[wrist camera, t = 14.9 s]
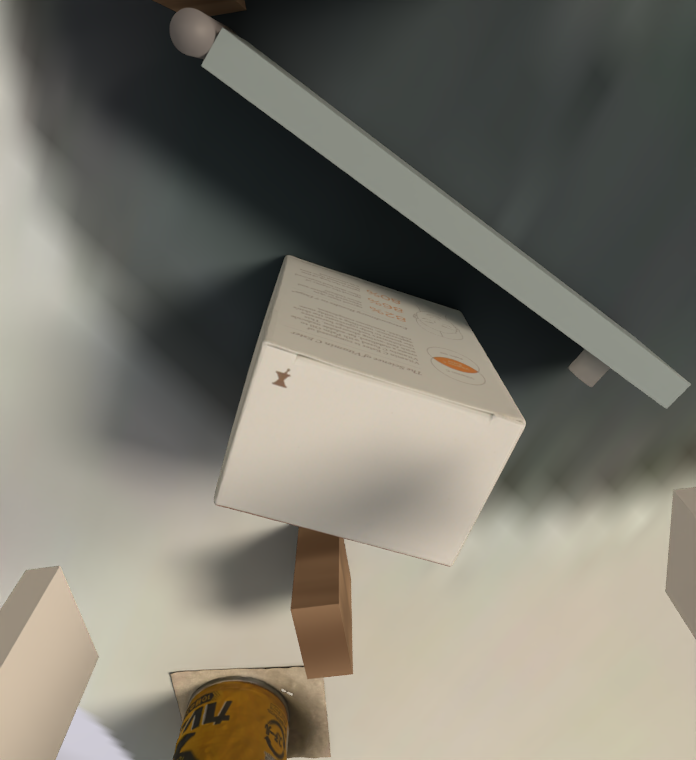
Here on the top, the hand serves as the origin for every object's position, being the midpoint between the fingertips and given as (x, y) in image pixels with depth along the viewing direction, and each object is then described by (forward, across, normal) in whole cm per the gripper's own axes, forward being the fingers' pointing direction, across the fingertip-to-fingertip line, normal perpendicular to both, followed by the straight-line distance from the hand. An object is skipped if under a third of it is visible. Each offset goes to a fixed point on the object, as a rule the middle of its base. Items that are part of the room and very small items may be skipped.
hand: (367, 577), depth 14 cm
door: (+15, +4, +4) cm, 16 cm away
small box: (+16, 0, 0) cm, 16 cm away
